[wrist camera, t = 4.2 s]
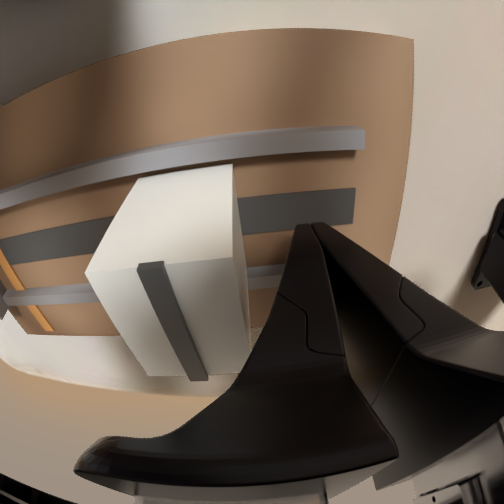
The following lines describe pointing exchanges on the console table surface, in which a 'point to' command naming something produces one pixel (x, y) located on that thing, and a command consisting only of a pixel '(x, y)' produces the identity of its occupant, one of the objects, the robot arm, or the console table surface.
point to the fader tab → (178, 274)
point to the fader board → (203, 155)
